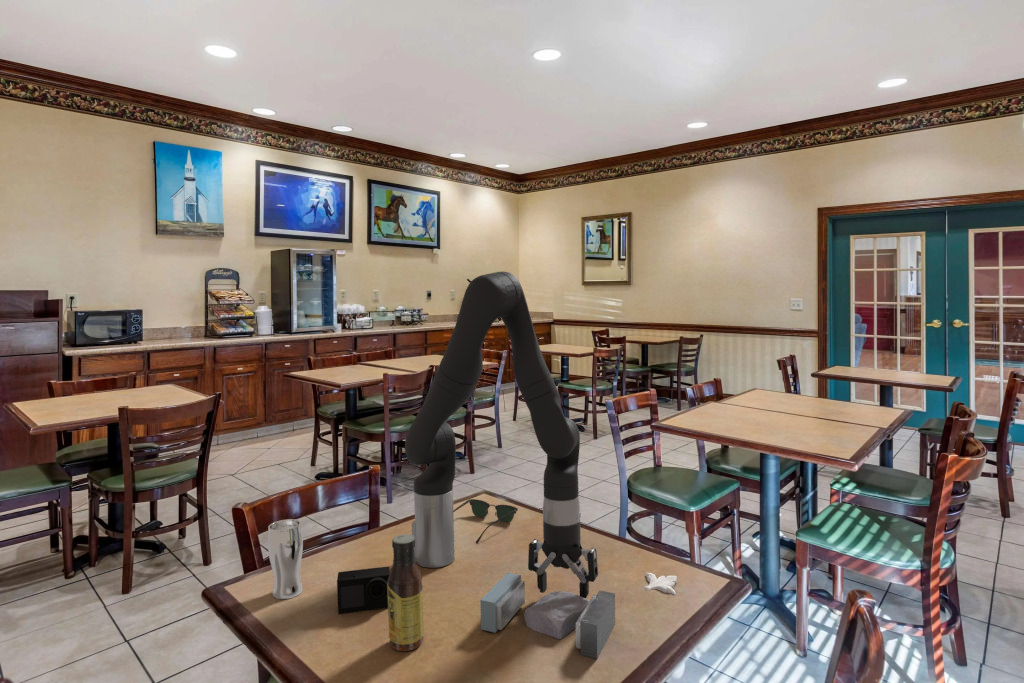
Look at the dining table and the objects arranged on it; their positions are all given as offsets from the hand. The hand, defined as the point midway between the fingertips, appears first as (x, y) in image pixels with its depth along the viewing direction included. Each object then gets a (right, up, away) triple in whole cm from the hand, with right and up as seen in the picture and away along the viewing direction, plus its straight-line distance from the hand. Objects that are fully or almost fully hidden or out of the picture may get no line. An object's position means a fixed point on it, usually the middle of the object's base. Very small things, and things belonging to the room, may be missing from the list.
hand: (563, 594), depth 119 cm
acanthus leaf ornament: (+22, -2, +7) cm, 23 cm away
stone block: (-2, -3, -6) cm, 7 cm away
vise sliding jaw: (-12, -2, -5) cm, 13 cm away
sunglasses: (-20, 0, +41) cm, 46 cm away
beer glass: (-59, -3, +7) cm, 59 cm away
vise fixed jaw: (+5, -2, -13) cm, 14 cm away
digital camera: (-41, -3, 0) cm, 41 cm away
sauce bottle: (-30, -3, -13) cm, 33 cm away
